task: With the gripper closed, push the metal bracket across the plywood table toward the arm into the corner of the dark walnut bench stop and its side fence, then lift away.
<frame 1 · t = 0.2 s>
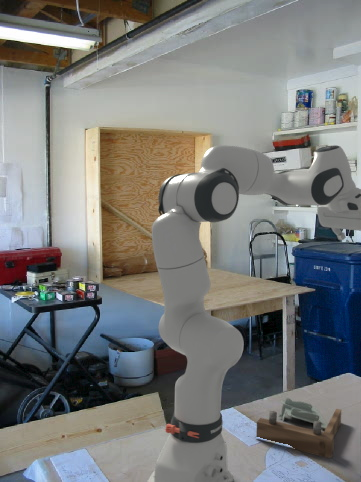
hand: (355, 240, 147), 54 cm above the table, tool tilted 30°, fingers open, 8 cm apart
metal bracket: (302, 420, 151), on the table
bench stop: (293, 446, 134), on the table
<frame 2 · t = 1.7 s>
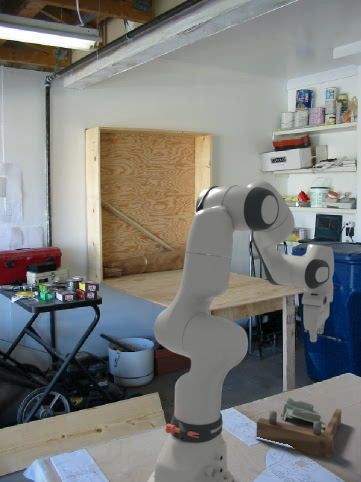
hand: (316, 337, 159), 22 cm above the table, tool pointing down, fingers open, 8 cm apart
nothing on the table moved.
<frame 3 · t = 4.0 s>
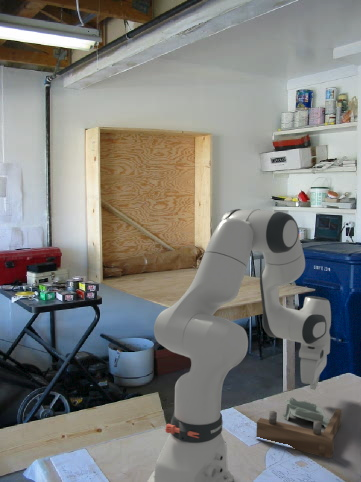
hand: (314, 387, 161), 5 cm above the table, tool pointing down, fingers closed
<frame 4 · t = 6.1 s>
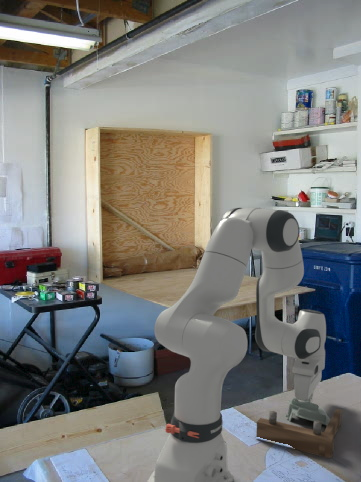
hand: (308, 404, 156), 2 cm above the table, tool pointing down, fingers closed
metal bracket: (309, 420, 151), on the table, touching bench stop, gripper
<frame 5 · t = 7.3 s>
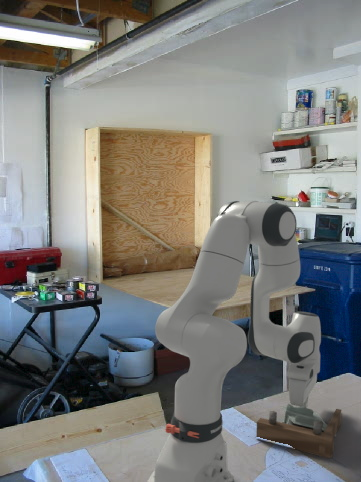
hand: (303, 408, 152), 2 cm above the table, tool pointing down, fingers closed
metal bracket: (305, 427, 147), on the table, touching gripper
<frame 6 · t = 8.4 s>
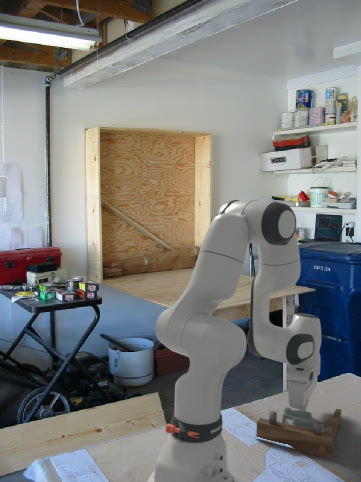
hand: (303, 411, 151), 2 cm above the table, tool pointing down, fingers closed
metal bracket: (303, 430, 145), on the table, touching bench stop
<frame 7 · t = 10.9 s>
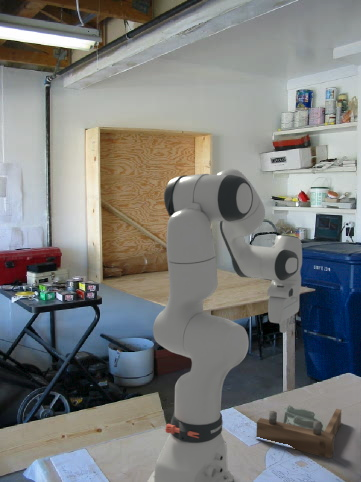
hand: (283, 331, 155), 25 cm above the table, tool pointing down, fingers closed
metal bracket: (305, 429, 145), on the table
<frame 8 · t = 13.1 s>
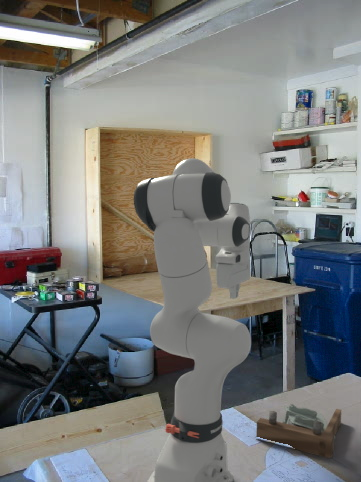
hand: (234, 297, 159), 34 cm above the table, tool pointing down, fingers closed
at the end: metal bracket inside the target area (4.9 cm from its centre), on the table; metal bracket moved 4.5 cm from its start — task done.
